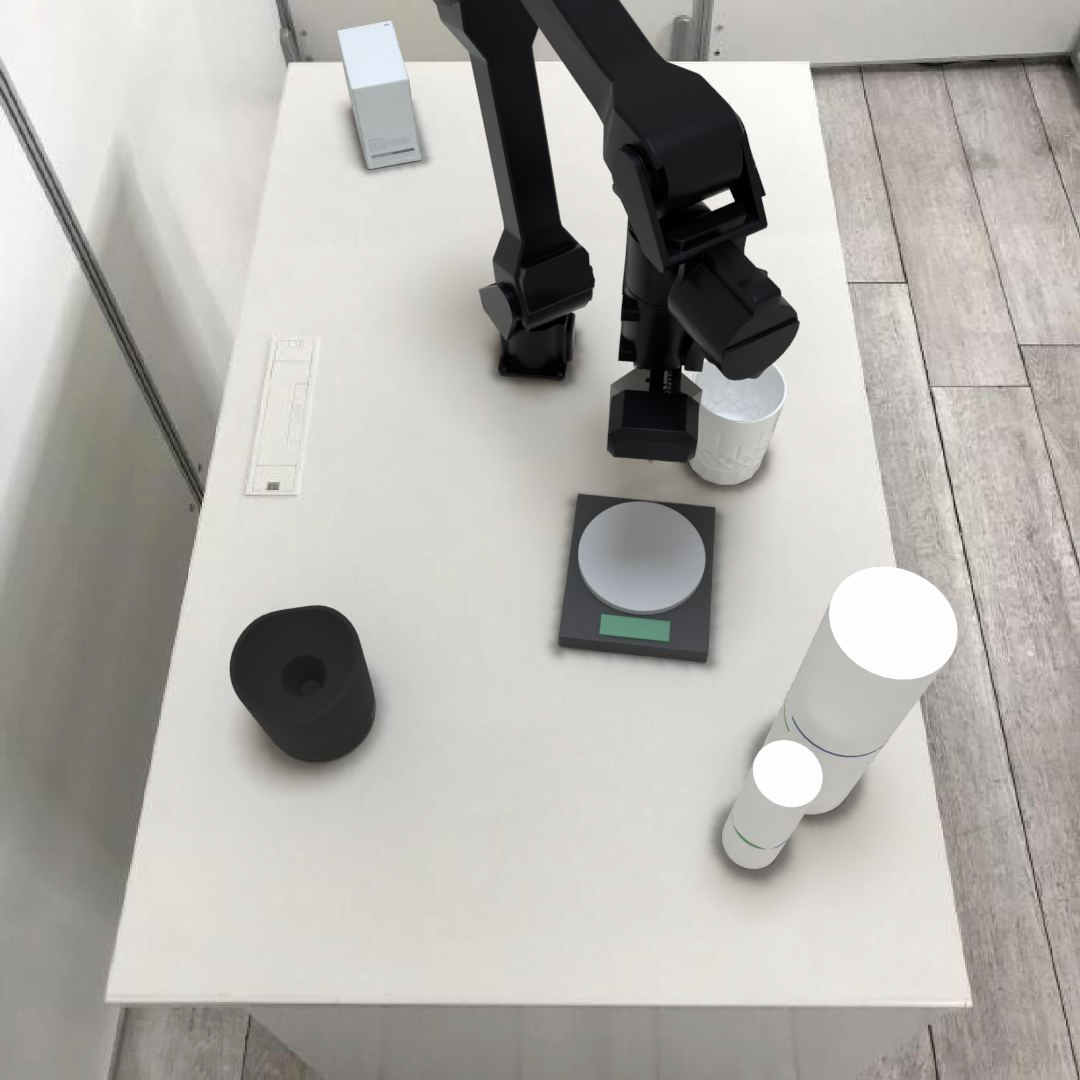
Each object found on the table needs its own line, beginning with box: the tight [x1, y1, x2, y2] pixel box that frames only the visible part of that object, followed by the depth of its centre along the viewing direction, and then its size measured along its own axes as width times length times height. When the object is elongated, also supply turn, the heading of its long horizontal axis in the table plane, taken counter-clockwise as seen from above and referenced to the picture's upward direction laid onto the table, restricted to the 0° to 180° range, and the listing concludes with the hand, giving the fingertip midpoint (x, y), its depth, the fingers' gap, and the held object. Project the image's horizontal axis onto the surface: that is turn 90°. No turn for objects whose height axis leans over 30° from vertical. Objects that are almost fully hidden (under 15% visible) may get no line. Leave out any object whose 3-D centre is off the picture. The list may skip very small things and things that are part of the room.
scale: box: [558, 493, 717, 663], centre depth 89 cm, size 12×14×3 cm
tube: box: [721, 740, 823, 870], centre depth 73 cm, size 4×4×15 cm
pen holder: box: [228, 604, 376, 763], centre depth 80 cm, size 9×9×10 cm
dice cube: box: [607, 368, 703, 464], centre depth 84 cm, size 5×5×5 cm
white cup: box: [688, 358, 788, 486], centre depth 93 cm, size 8×8×10 cm
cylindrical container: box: [761, 566, 958, 815], centre depth 71 cm, size 7×7×25 cm
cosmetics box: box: [336, 19, 423, 170], centre depth 116 cm, size 10×6×10 cm, turn 14°
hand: (650, 420), depth 85 cm, fingers closed on dice cube, 6 cm apart
